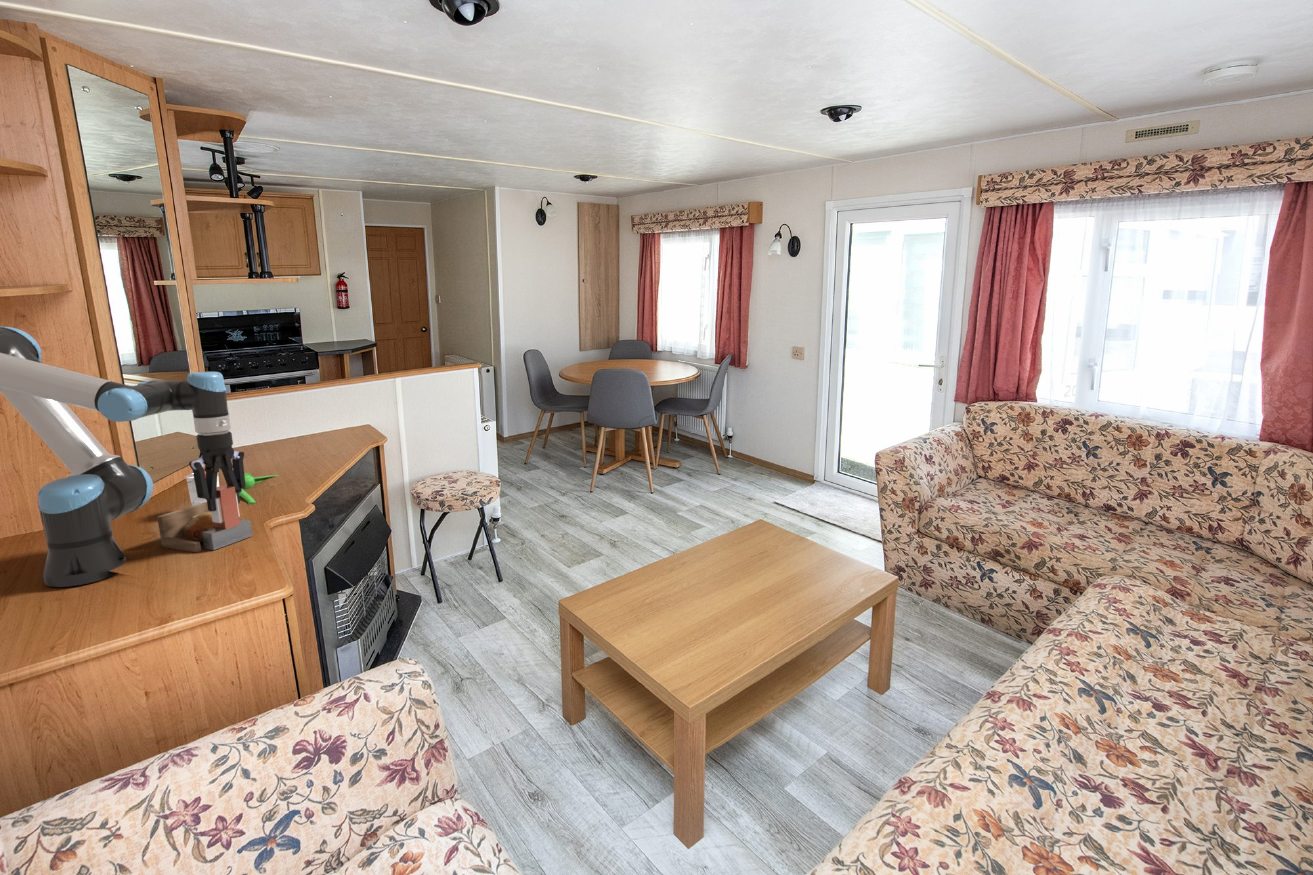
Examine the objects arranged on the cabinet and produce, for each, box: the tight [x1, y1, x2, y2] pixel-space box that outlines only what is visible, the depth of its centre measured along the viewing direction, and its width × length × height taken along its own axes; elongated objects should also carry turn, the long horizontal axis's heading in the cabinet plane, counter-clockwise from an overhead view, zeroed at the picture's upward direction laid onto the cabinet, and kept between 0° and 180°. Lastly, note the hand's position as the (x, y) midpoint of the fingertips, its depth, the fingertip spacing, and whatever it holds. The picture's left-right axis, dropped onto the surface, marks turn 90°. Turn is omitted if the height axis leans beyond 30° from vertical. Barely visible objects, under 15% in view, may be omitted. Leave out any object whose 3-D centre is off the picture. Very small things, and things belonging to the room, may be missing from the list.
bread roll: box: [184, 512, 215, 543], centre depth 172 cm, size 10×10×8 cm
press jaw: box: [201, 484, 253, 551], centre depth 168 cm, size 11×4×15 cm, turn 161°
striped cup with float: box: [184, 470, 220, 506], centre depth 194 cm, size 10×8×12 cm
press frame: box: [156, 502, 211, 553], centre depth 172 cm, size 15×14×8 cm
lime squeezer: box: [239, 472, 279, 505], centre depth 216 cm, size 34×12×6 cm, turn 16°
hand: (226, 519), depth 168 cm, fingers closed on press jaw, 4 cm apart
